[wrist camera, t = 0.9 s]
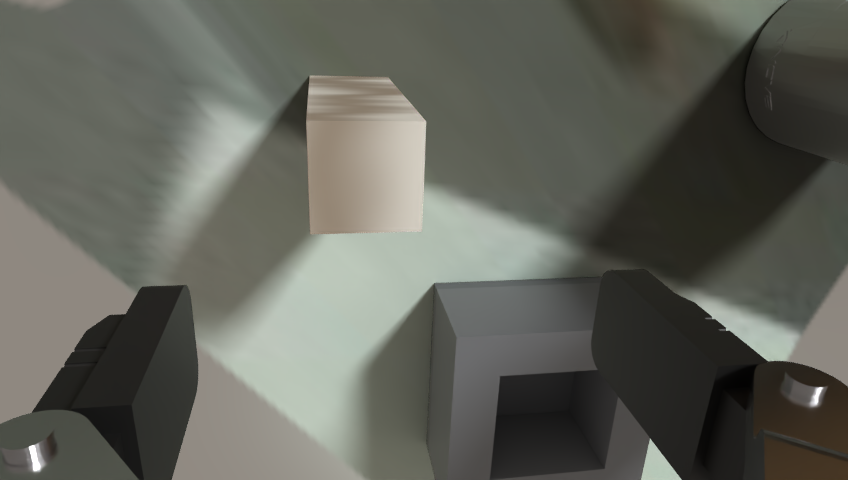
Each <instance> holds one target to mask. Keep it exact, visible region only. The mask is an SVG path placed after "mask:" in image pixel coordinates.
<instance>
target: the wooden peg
mask: <svg viewBox="0 0 848 480" xmlns="http://www.w3.org/2000/svg"><path fill="white" fill-rule="evenodd" d="M306 128H307V158H308V187H309V217H310V234H338V233H380V232H422V216H423V191H424V165H425V140H426V121H425V120H424V118H423V117H422V116H421V115H420V114H419V113H418V111H417V110H416V109H415V108H414V107H413V106H412V104H411V103H410V102H409V101H408V100H407V99H406V98H405V96H404V95H403V94H402V93H401V92H400V91H399V89H398V88H397V87H396V86H395V85H394V84H393V83H392V81H391V80H390V79H389V78H388V77H354V76H310V77H309V91H308V104H307V117H306Z"/></svg>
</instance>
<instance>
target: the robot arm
mask: <svg viewBox="0 0 848 480" xmlns="http://www.w3.org/2000/svg"><path fill="white" fill-rule="evenodd" d="M745 94H746V102H747V106H748V109H749V113H750V116H751V117H752V119H753V121H754V123H755V124H756V126H757V127H758V128H759V129H760V130H761V131H762V132H763V133H764V134H765V135H766V136H767V137H769V138H770V139H772V140H774V141H776V142H778V143H780V144H783V145H786V146H790V147H793V148H796V149H799V150H802V151H805V152H808V153H811V154H814V155H818V156H821V157H824V158H826V159H829V160H832V161H835V162H838V163H841V164H845V165H848V0H790V1H788V2H787V3H786V4H785V5H784V6H783V7H782V8H781V9H780V10H779V11H778V12H777V13H775V14H774V15H773V17H772V18H771V19H770V21H769V22H768V23H767V25H766V26H765V28H764V29H763V30H762V32H761V34H760V36H759V38H758V40H757V41H756V43H755V45H754V47H753V50H752V53H751V56H750V59H749V62H748V65H747V72H746V79H745ZM591 351H592V357H593V360H594V363H595V366H596V368H597V369H598V371H599V372H600V373H601V375H602V376H603V377H604V379H605V380H606V381H607V382H608V384H609V385H610V386H611V388H612V389H613V390H614V392H615V393H616V394H617V396H618V397H619V398H620V399H621V401H622V402H623V403H624V405H625V406H626V407H627V409H628V410H629V411H630V413H631V414H632V415H633V416H634V418H635V419H636V420H637V422H638V423H639V424H640V426H641V427H642V428H643V429H644V431H645V432H646V433H647V435H648V436H649V437H650V439H651V440H652V441H653V443H654V444H655V445H656V446H657V448H658V449H659V450H660V452H661V453H662V454H663V456H664V457H665V458H666V460H667V461H668V462H669V463H670V465H671V466H672V467H673V469H674V470H675V471H676V473H677V474H678V475H679V477H680V478H681V479H682V480H848V386H846V385H845V384H844V383H842V382H841V381H839V380H838V379H836V378H835V377H833V376H831V375H829V374H827V373H825V372H822V371H820V370H818V369H815V368H812V367H809V366H806V365H803V364H798V363H794V362H787V361H769V362H768V361H767V360H765V359H764V358H763V357H762V356H760V355H759V354H758V353H757V352H755V351H754V350H753V349H752V348H750V347H749V346H748V345H747V344H745V343H744V342H743V341H742V340H740V339H739V338H738V337H737V336H735V335H734V334H733V333H732V332H730V331H726V328H725V327H724V326H723V325H722V324H721V323H719V322H718V321H717V320H716V319H712V316H711V315H709V314H708V313H707V312H706V311H704V310H703V309H702V308H701V307H699V306H698V305H697V304H696V303H694V302H692V301H690V300H688V299H686V298H683V297H681V296H679V295H677V294H675V293H674V292H672V291H671V290H670V289H669V288H668V287H666V286H665V285H664V284H663V283H661V282H660V281H659V280H658V279H657V278H655V277H654V276H653V275H652V274H650V273H649V272H648V271H646V270H644V269H638V270H611V271H607V272H606V273H605V274H604V275H603V277H602V279H601V283H600V289H599V295H598V301H597V307H596V313H595V319H594V325H593V331H592V338H591ZM197 385H198V358H197V349H196V340H195V332H194V323H193V314H192V305H191V297H190V292H189V289H188V287H187V286H186V285H177V286H149V287H142V288H141V289H140V290H139V292H138V294H137V295H136V297H135V299H134V301H133V302H132V304H131V306H130V308H129V309H128V311H127V313H126V314H124V315H123V314H122V315H109V316H107V317H106V318H104V319H103V320H102V321H100V322H99V323H97V324H96V325H94V326H93V327H92V328H90V329H88V330H87V331H86V332H85V334H84V335H83V337H82V338H81V340H80V341H79V343H78V344H77V346H76V347H75V351H74V352H72V353H71V355H70V356H69V358H68V359H67V361H66V362H65V366H64V367H63V368H61V370H60V371H59V373H58V374H57V376H56V377H55V379H54V380H53V382H52V383H51V385H50V386H49V388H48V389H47V391H46V392H45V394H44V395H43V397H42V398H41V399H40V401H39V403H38V404H37V406H36V407H35V408H34V410H33V411H32V413H30V414H26V415H22V416H19V417H16V418H13V419H11V420H9V421H6V422H4V423H2V424H0V480H172V476H173V473H174V469H175V466H176V462H177V459H178V455H179V452H180V449H181V445H182V442H183V438H184V435H185V431H186V428H187V424H188V421H189V417H190V414H191V410H192V407H193V403H194V400H195V396H196V392H197Z"/></svg>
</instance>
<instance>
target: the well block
mask: <svg viewBox="0 0 848 480" xmlns="http://www.w3.org/2000/svg"><path fill="white" fill-rule="evenodd" d="M601 279H602V277H587V278H560V279H534V280H508V281H481V282H455V283H434V302H433V322H432V342H431V363H430V383H429V403H428V424H427V448H428V452H429V456H430V460H431V464H432V468H433V472H434V476H435V480H641V477H642V472H643V467H644V463H645V458H646V454H647V449H648V444H649V440H650V437H649V436H648V435H647V433H646V432H645V431H644V429H643V428H642V427H641V426H640V424H639V423H638V422H637V420H636V419H635V418H634V416H633V415H632V414H631V413H630V411H629V410H628V409H627V407H626V406H625V405H624V403H623V402H622V401H621V399H620V398H619V397H618V396H617V394H616V393H615V392H614V390H613V389H612V388H611V386H610V385H609V384H608V382H607V381H606V380H605V379H604V377H603V376H602V375H601V373H600V372H599V371H598V369H597V368H596V366H595V363H594V360H593V357H592V351H591V338H592V331H593V325H594V319H595V313H596V307H597V301H598V295H599V289H600V283H601Z"/></svg>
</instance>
